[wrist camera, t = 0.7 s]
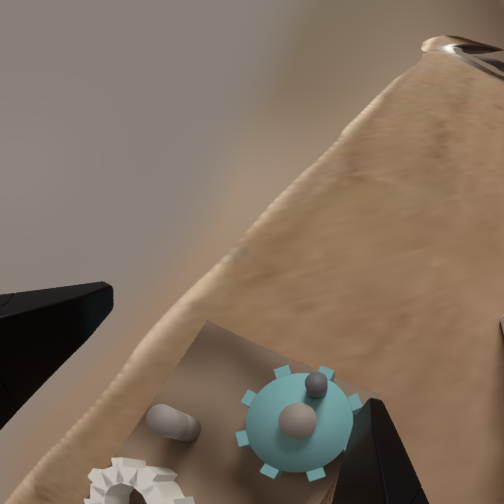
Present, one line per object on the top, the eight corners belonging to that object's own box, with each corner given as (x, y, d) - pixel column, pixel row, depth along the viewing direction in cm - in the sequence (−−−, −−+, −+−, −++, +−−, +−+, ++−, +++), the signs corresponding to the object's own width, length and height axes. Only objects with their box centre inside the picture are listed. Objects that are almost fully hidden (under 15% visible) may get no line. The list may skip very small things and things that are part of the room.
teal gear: (325, 495, 14) (325, 505, 10) (227, 447, 17) (202, 442, 14) (376, 399, 17) (388, 382, 14) (280, 360, 21) (269, 335, 17)
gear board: (230, 609, 9) (205, 635, 5) (89, 505, 16) (47, 503, 12) (376, 396, 18) (389, 378, 14) (211, 325, 25) (188, 294, 21)
